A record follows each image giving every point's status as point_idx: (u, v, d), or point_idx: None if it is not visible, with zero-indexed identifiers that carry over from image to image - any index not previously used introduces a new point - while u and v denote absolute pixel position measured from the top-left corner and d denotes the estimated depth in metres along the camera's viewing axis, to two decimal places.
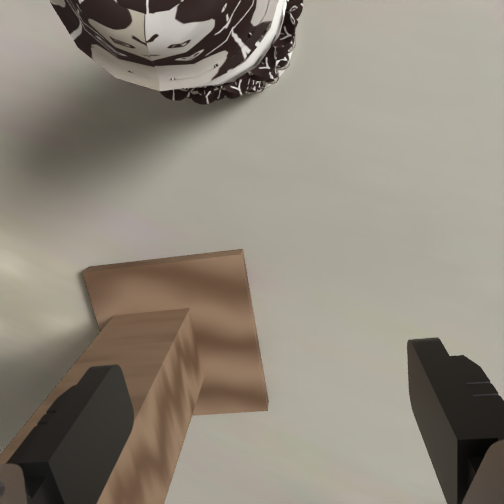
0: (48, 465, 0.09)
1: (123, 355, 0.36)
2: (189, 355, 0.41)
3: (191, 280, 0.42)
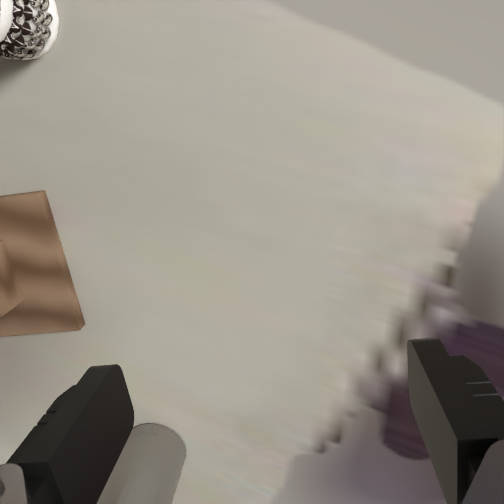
0: (48, 465, 0.09)
1: None
2: None
3: (2, 215, 0.51)
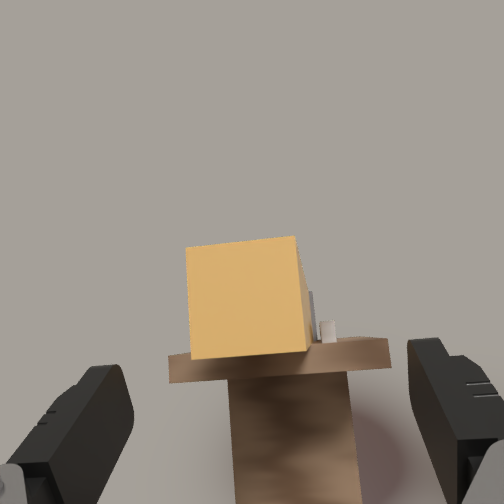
0: (48, 465, 0.09)
1: None
2: None
3: None
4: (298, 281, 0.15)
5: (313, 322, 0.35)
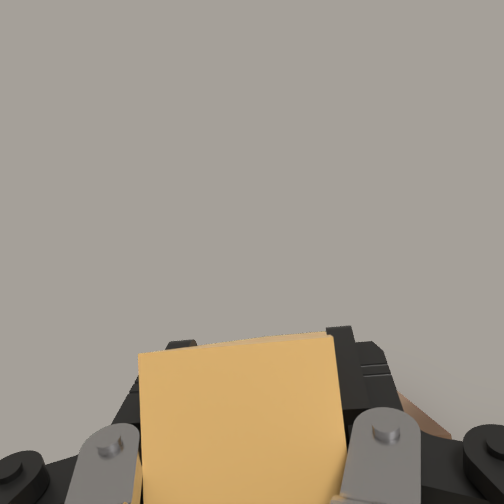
0: None
1: None
2: None
3: None
4: (342, 425, 0.08)
5: None
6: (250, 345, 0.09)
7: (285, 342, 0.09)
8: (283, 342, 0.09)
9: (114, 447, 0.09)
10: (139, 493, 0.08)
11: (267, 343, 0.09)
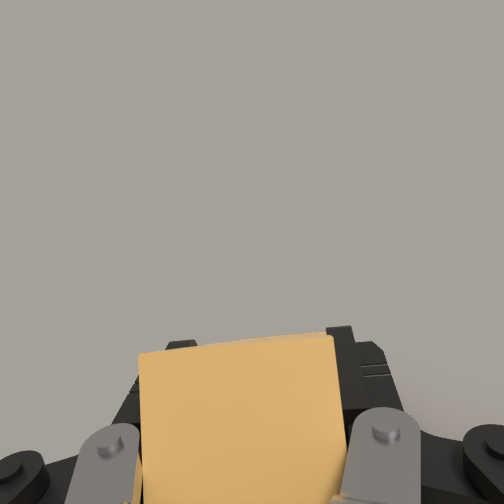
0: None
1: None
2: None
3: None
4: (342, 425, 0.08)
5: None
6: (250, 345, 0.09)
7: (285, 342, 0.09)
8: (283, 342, 0.09)
9: (114, 447, 0.09)
10: (139, 493, 0.08)
11: (267, 343, 0.09)
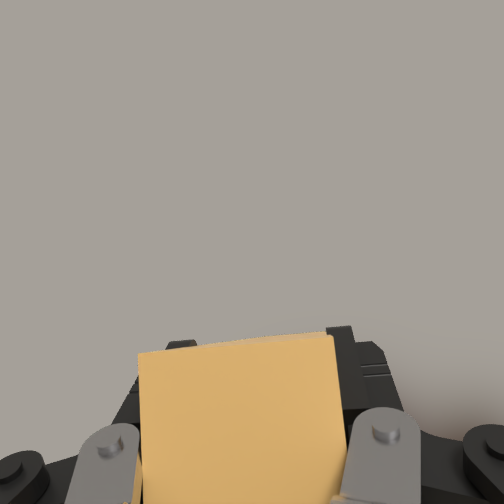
0: None
1: None
2: None
3: None
4: (342, 425, 0.08)
5: None
6: (250, 345, 0.09)
7: (285, 342, 0.08)
8: (283, 342, 0.09)
9: (114, 448, 0.09)
10: (139, 493, 0.08)
11: (267, 343, 0.09)
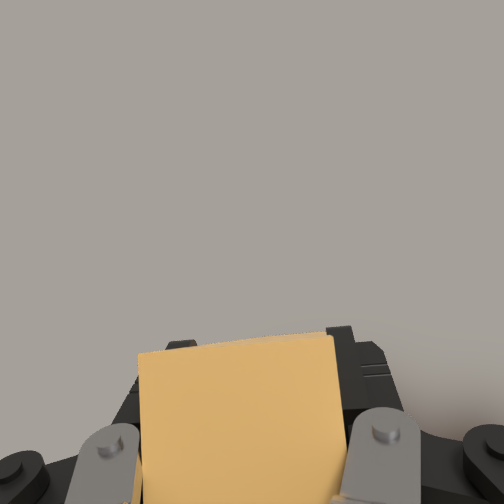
0: None
1: None
2: None
3: None
4: (342, 425, 0.08)
5: None
6: (250, 345, 0.09)
7: (285, 342, 0.08)
8: (283, 342, 0.09)
9: (114, 448, 0.09)
10: (139, 493, 0.08)
11: (267, 343, 0.09)
